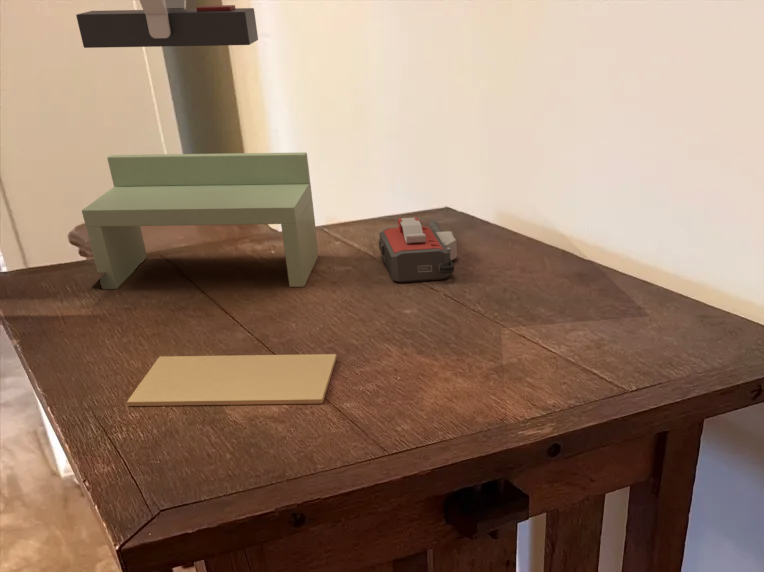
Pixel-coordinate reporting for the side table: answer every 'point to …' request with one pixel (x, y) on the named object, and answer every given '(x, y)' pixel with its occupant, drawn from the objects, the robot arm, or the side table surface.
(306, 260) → the green bench
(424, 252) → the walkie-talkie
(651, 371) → the side table surface
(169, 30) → the robot arm
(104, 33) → the remote
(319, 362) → the mat
